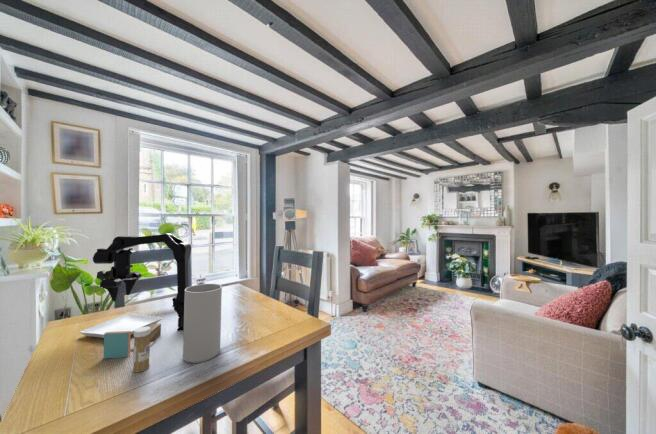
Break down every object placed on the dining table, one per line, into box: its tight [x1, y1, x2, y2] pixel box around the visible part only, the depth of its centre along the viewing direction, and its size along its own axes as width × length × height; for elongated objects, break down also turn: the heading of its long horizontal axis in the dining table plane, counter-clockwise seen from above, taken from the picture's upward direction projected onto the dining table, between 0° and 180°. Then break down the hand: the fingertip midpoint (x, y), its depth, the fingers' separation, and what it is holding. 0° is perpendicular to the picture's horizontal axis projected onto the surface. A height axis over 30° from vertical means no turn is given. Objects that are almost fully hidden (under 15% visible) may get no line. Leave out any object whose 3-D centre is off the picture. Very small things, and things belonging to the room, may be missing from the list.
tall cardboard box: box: [130, 323, 162, 352], centre depth 101 cm, size 6×13×5 cm, turn 9°
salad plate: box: [79, 313, 163, 339], centre depth 112 cm, size 21×21×3 cm
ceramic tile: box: [103, 331, 132, 360], centre depth 90 cm, size 8×2×9 cm, turn 99°
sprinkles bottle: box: [132, 327, 151, 373], centre depth 83 cm, size 5×5×13 cm
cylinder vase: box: [182, 283, 223, 364], centre depth 93 cm, size 12×12×25 cm
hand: (121, 297), depth 112 cm, fingers open, 9 cm apart
